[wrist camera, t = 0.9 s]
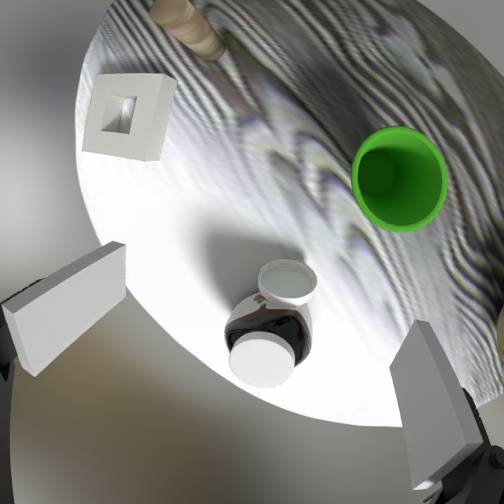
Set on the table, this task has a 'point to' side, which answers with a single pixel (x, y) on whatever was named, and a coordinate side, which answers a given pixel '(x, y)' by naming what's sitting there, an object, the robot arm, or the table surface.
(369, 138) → the cup
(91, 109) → the socket block
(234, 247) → the table surface
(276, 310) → the spread jar
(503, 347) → the cantaloupe
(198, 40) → the peg
